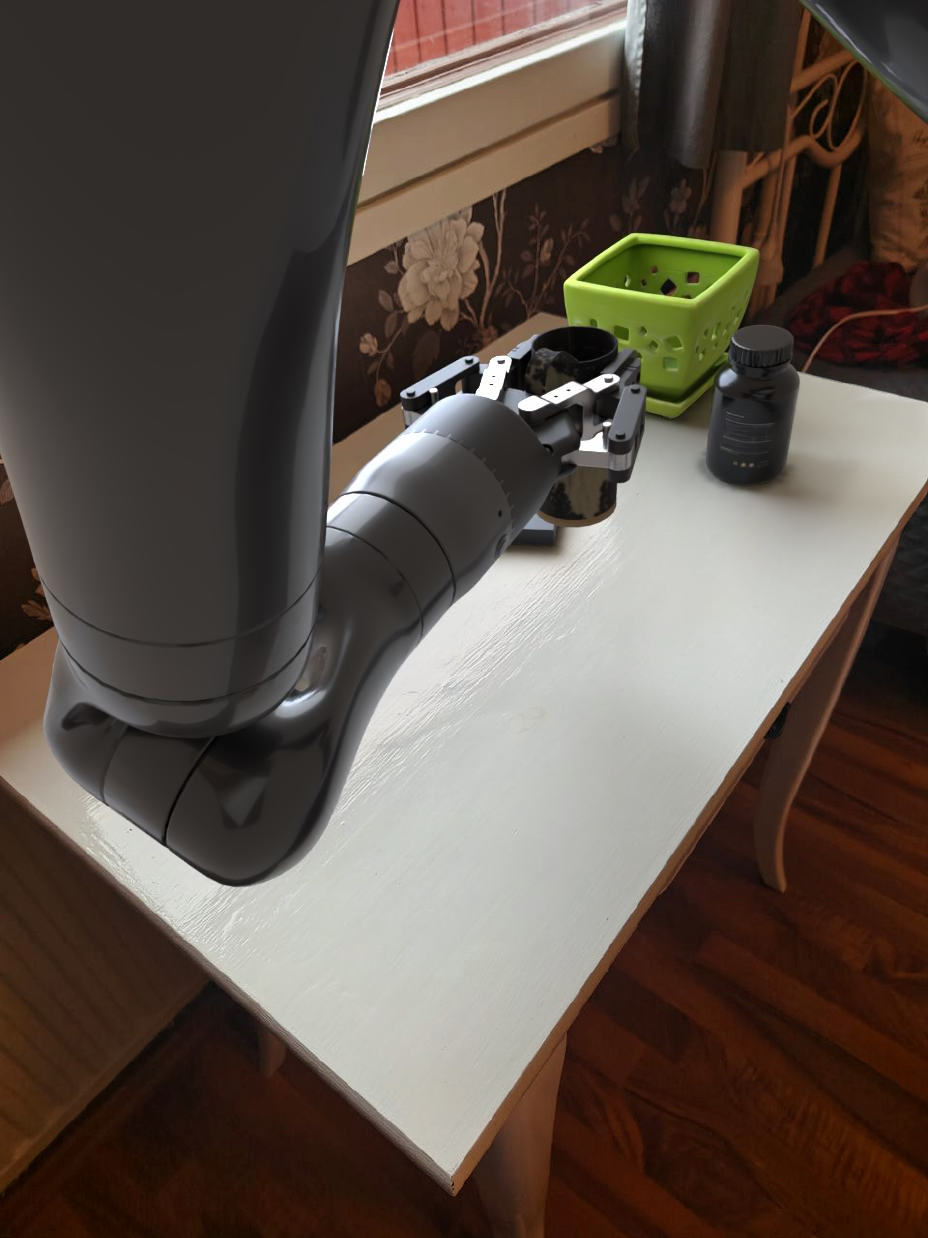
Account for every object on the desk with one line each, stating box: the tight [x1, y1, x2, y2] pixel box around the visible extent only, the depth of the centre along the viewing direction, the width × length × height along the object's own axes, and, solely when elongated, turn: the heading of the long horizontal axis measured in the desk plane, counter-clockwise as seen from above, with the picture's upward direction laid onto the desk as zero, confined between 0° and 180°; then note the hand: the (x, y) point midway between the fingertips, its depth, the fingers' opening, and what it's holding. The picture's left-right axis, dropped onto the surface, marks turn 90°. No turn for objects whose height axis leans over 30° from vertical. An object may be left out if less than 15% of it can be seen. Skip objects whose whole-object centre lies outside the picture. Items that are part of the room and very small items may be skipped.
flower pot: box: [563, 232, 761, 420], centre depth 84 cm, size 14×14×13 cm
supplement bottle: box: [705, 324, 801, 486], centre depth 72 cm, size 7×7×12 cm
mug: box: [524, 325, 618, 528], centre depth 52 cm, size 8×6×12 cm
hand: (584, 357), depth 52 cm, fingers closed on mug, 5 cm apart
